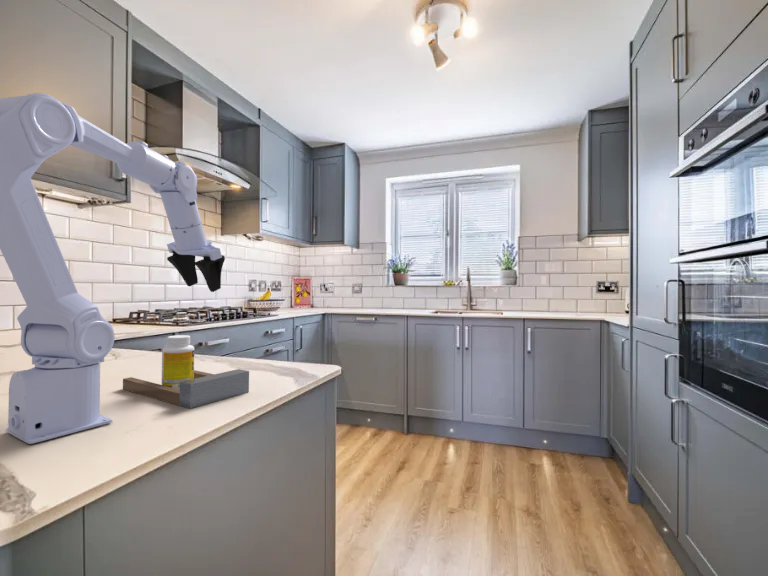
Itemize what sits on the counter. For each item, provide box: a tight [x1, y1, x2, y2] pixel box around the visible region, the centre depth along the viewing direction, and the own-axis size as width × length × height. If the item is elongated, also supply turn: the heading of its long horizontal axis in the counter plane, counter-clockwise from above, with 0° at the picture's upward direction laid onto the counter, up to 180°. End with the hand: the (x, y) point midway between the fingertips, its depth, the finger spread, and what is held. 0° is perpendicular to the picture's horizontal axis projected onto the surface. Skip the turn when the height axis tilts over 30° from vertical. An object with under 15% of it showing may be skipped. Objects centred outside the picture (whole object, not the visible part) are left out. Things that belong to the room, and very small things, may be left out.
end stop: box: [178, 368, 250, 409], centre depth 69 cm, size 12×3×4 cm, turn 150°
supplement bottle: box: [161, 334, 195, 390], centre depth 75 cm, size 6×6×10 cm
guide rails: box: [122, 369, 215, 406], centre depth 74 cm, size 12×18×2 cm, turn 60°
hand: (204, 287), depth 82 cm, fingers open, 7 cm apart
